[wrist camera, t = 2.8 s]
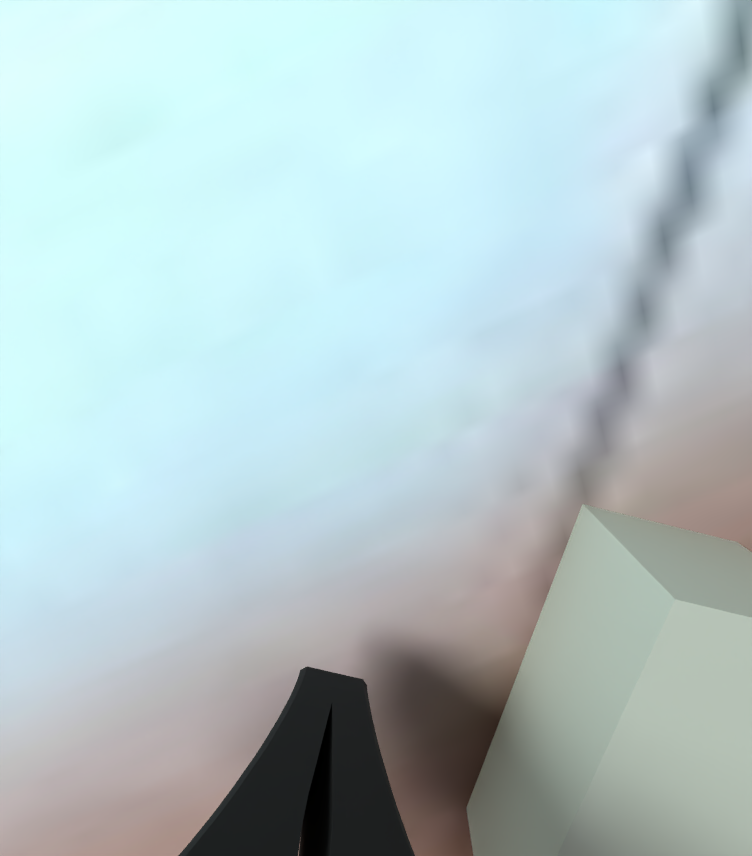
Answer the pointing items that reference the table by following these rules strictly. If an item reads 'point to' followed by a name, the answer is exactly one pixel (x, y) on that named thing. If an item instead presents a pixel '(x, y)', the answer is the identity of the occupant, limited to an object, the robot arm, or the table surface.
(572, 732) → the t block
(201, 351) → the table surface
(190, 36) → the table surface
